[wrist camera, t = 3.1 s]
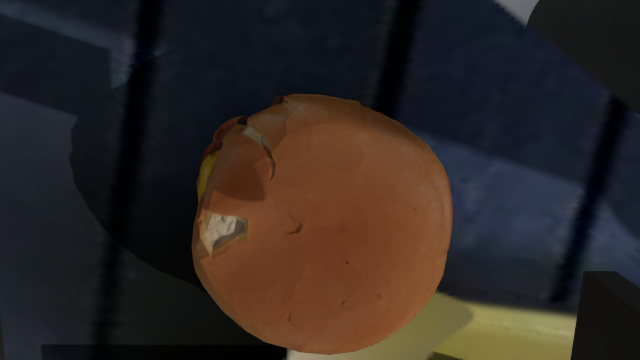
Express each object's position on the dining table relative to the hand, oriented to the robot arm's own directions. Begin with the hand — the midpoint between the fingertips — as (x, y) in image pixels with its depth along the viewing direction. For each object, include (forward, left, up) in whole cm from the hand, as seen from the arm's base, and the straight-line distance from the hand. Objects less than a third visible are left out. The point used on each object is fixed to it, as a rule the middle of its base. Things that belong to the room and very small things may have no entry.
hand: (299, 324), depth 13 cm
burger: (-1, +1, -11) cm, 11 cm away
